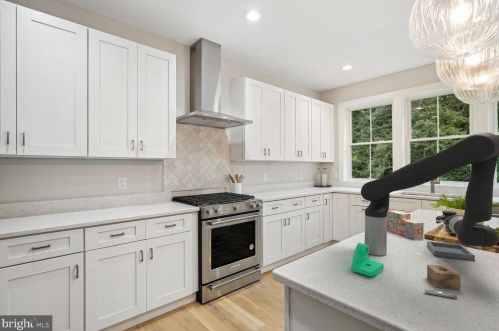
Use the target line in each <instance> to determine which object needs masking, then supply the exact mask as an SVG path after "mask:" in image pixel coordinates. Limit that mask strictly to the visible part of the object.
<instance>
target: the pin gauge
mask: <svg viewBox="0 0 499 331" xmlns="http://www.w3.org/2000/svg"><path fill="white" fill-rule="evenodd" d="M424 294H426V295H427V294H428V295H432V296H433V295H434V296H437V297H444V298H449V299H458V297H457V296H458V295H457V294H456V293H455V294H454V293H448V292H444V291H437V290H431V289H424Z"/></svg>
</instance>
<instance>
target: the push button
mask: <svg viewBox="0 0 499 331" xmlns="http://www.w3.org/2000/svg"><path fill="white" fill-rule="evenodd" d="M441 213H442V215H444V216H449V217H450V216H452V215H458V214H457V212H455V210H454V209H447V208H445V209H444V210H443V211H441ZM444 226H445V228H444V231H445V232H446V233H453V231H451V230H450V229H449V228H448V227H447V225H446V224H444Z"/></svg>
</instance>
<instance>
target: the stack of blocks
mask: <svg viewBox="0 0 499 331" xmlns="http://www.w3.org/2000/svg"><path fill="white" fill-rule="evenodd" d="M424 224H425V223H424V222H423V221H419V220H415V219H411V213H407V212H405V211H401V210H394V209H393V210H392V209H391V210H390V209H389V210H388V212H387V232H388V231H389V232H390V233H391V232H392V233H394V234H397V235H399V236H403V237H405V238H408V239H410V240H413V241H420V240H424V228H425V225H424Z"/></svg>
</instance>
